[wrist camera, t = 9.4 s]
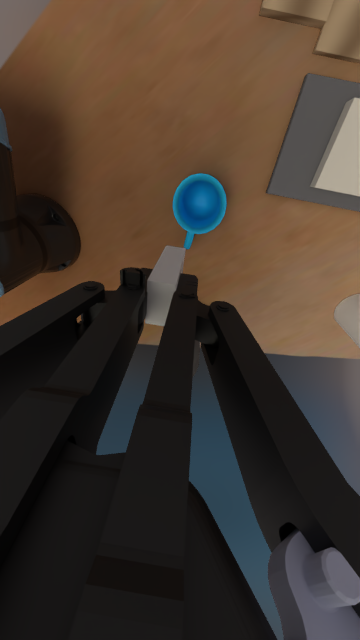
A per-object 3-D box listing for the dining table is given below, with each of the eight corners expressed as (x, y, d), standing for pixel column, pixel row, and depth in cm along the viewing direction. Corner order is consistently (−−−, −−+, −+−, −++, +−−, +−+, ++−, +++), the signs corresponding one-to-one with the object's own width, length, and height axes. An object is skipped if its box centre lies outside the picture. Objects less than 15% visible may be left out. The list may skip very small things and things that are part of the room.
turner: (253, 40, 29) (255, 34, 27) (271, -39, 25) (275, -51, 24) (371, 66, 29) (378, 61, 27) (405, -9, 25) (416, -19, 24)
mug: (186, 166, 37) (181, 164, 30) (231, 182, 37) (235, 184, 31) (169, 236, 44) (161, 247, 37) (207, 249, 44) (206, 262, 37)
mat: (265, 192, 38) (267, 193, 37) (304, 76, 30) (308, 73, 29) (379, 215, 38) (383, 216, 37) (448, 104, 30) (456, 102, 29)
